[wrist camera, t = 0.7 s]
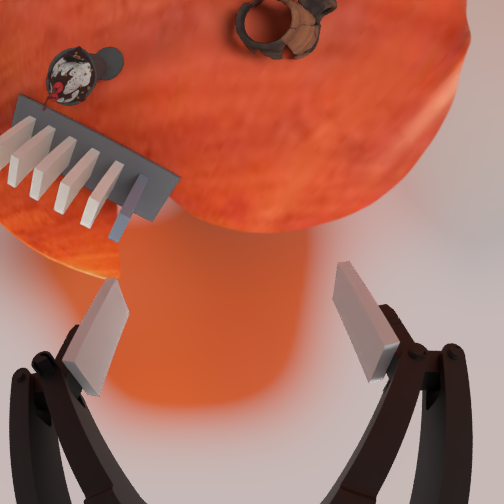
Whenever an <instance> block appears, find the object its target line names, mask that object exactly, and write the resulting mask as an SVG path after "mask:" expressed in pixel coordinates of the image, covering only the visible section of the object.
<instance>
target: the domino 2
mask: <svg viewBox="0 0 504 504" xmlns="http://www.w3.org/2000/svg"><path fill="white" fill-rule="evenodd" d="M55 130H56V129H55V128H53V127H51V126H49V125H48V126H47V127H45V128H44V129H43V130H41V131H40V132H39V133H37V134H36V135H35V136H33V137H32V138H31V139H29V140H28V141H27V142H26V143H24V144H23V145H22V146H21V147H20V148H18V149H17V150H16V151H15V152H14V153H12V154H11V159H10V166H9V174H8V183H7V184H9V185H11V186H12V187H14V188H16V186H17V185H18V184H19V183H20V182H21V181H22V180H23V179H24V178H25V177H26V176H27V175H28V174H29V173H30V172H31V171H32V170H33V169H34V168H35V167H36V166H37V165H38V164H39V163H40V162H41V161H42V160H43V159H44V158H45V157H46V156H47V155H48V154H49V150H50V147H51V143H52V140H53V136H54V133H55Z"/></svg>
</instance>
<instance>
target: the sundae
mask: <svg viewBox="0 0 504 504" xmlns="http://www.w3.org/2000/svg"><path fill="white" fill-rule="evenodd" d="M122 67H123V56H122V54H121V52H120V51H119V50H118V49H116V48H113V47H106V48H103V49H101V50H100V51H98V52H97V53H96V54H91V53H88V52H87V51H86V50H84V49H82V48H81V47H80V46H78V47H75V48H70V49H67V50H64V51H62V52H61V53H59V54H58V55H57V56H56V57H55V58H54V59H53V61H52V62H51V64H50V67H49V70H48V74H47V79H46V86H47V91H48V94H49V96H48V97H47V99H46V102H47V100H48V99H51V101H53V102H55V101H56V102H57V103H59V104H62V105H66V106H72V105H76V104H78V103H80V102H83V101H84V100H85V99H86V97H87V96H88V95H89V94H90V93H91V91H92V90H93V88H94V86H95V85H96V83H97V82H98V81H99V80H100V79H101V80H110V79H112V78H114V77H116V76H117V75H118V74H119V73H120V71H121V69H122ZM46 102H45V104H44V105H43V110H42V111H45V110H46Z"/></svg>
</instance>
